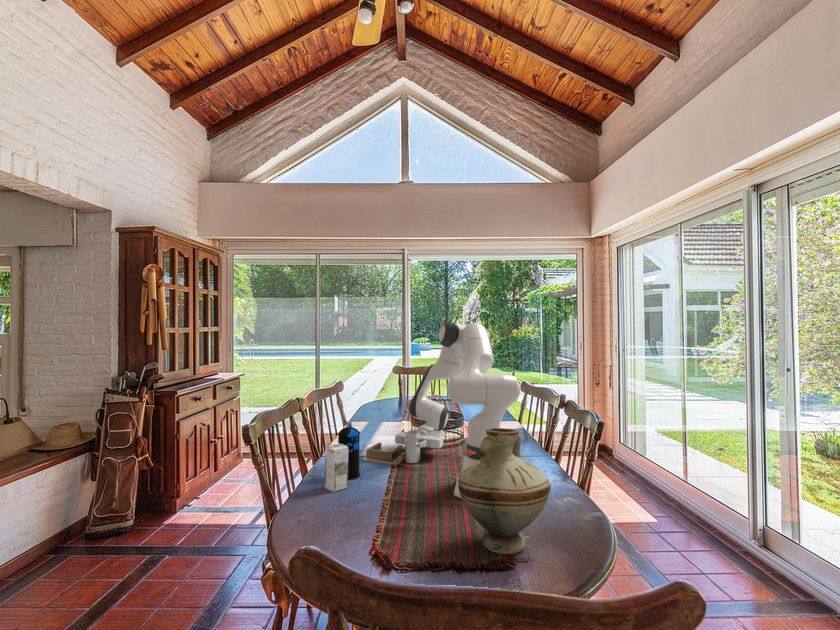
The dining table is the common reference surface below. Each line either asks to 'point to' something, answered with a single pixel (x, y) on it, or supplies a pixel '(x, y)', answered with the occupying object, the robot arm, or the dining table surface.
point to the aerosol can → (351, 448)
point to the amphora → (503, 491)
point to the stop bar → (412, 446)
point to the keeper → (382, 454)
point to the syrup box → (336, 467)
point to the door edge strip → (399, 459)
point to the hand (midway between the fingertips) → (412, 444)
